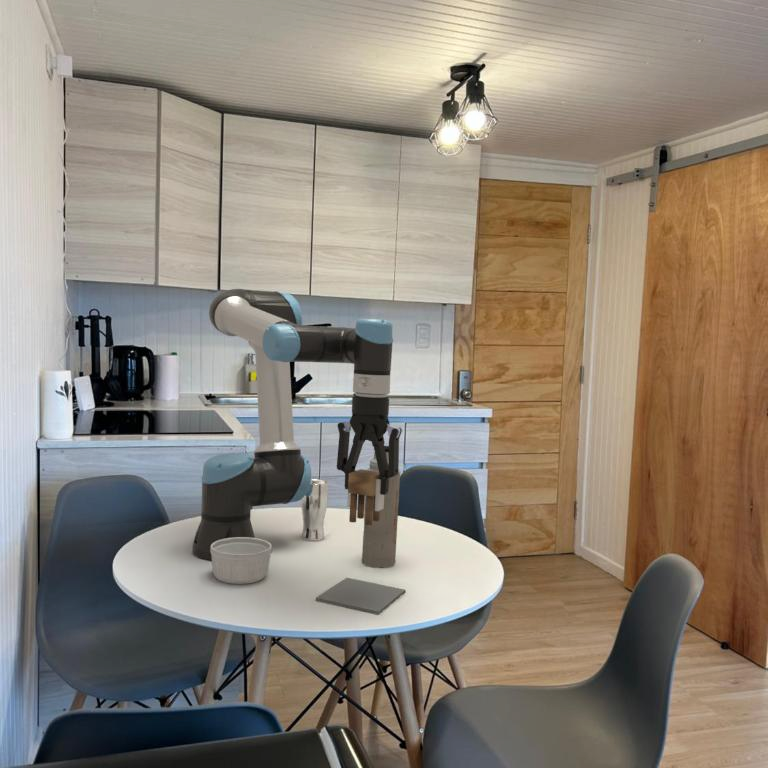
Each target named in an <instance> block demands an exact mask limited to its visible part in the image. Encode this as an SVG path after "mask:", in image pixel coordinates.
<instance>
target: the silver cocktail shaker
mask: <svg viewBox="0 0 768 768" xmlns="http://www.w3.org/2000/svg"><path fill="white" fill-rule="evenodd" d="M328 483H329V482H328V480H325V479H317V478H311V482H310V486H309V489H308V491H307V493H306V495H305V496H304V497H303V498H302V499H301V500H300V502H301V503H300V505H301V511H302V512H301V513H302V520H303V525H302V530H301V531H302V532H301V536H300V537H301V539H302V538H303V540H304V539H305V540H304V541H307V540H311V541H310V542H319V540H320V541H322V540H324V539H325V531H324V523H325V519H326V514H327V513H326V512H327V509H328V503H329V502H328V501H329V485H328Z"/></svg>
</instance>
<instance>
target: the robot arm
mask: <svg viewBox="0 0 768 768" xmlns="http://www.w3.org/2000/svg"><path fill="white" fill-rule="evenodd" d="M208 315H209V321H210V323H211V325H212V326H213V327H214V329H215V330H216V331H218V332H220V333H221V334H223V335H226V336H228V337H240V338H241V339H243V340H245V341H248V346H250V347H251V348H252V349H253V350H254V352H255V353H254V354H255V372H256V373H255V375H256V391H257V393H256V394H257V411H258V413H257V414H258V415H257V416H258V417H257V418H258V433H259V445H258V447H256V449H255V450H253V451H254V452H253V455H254V457H253V455H252V454H250V453H246V452H228V453H221V454H218V455H214V456H212V457H209V459H207V460H205V463H204V464H203V468H202V469H203V470H202V477H201V483H202V484H201V511H200V512H201V514H200V517H201V518H200V522H199V525H198V528H197V529H196V532H195V536H194V538H193V540H192V554H193V555H194V556H195V557H197V558H200V559H204V560H208V561H212V555H211V552H210V548H211V545H212V543H214V542H216V541H218V540H221V539H226V538H234V537H249V538H256V536H255V531H254V529H253V526H252V521H251V512H252V510H251V509H252V507H263V506H272V505H281V504H283V505H285V504H286V505H287V504H289V503H294V502H295V503H296V502H299V501H301V499H302V498H303V497H304V496H305V495H306V493H307V491H308V489H309V486H310V482H311V479H312V468H311V464H310V463H309V462H310V461H309V459H308V457H306V456H304V455H302V453H301V447H300V446H298V445H297V444H296V442H295V436H294V434H295V433H294V417H293V401H292V396H293V395H292V385H291V384H292V380H291V366H290V365H291V363H292V362H293V363H295V362H297V363H298V362H299V363H301V362H302V363H327V364H328V363H329V364H333V363H335V364H337V363H338V364H353V379H352V381H353V383H352V384H353V385H352V392H353V393H355V394H354V395H353V396H352V400H351V413H352V414H351V417H350V419H349V421H342V422H338V423H337V429H338V430H337V431H338V434H339V435H338V445H337V446H338V447H337V459H336V469H337V470H338V471H341V472H343V473H344V489H345V490H348V480H349V473H351V472H354V471H357V470H356V468H357V464H358V461H359V458H360V455H361V451H362V449H363V446H364V443H365V442H366V441H369V442H371V444H372V447H373V451H374V452H375V455H376V460H377V465H378V470H379V474H380V477H379V478H378V479H376V495H375V511H380V510H382V509H384V495H386V494H387V493H388V490H389V489H388V488H389V478H390V477H394V476H396V475H398V473H399V471H400V469H399V467H400V465H399V463H400V462H399V461H400V459H399V455H400V437H401V435H402V432H403V430H402V428H401V427H396V426H395V425H391V424H390V421H389V414H390V413H389V412H390V411H389V410H390V409H389V408H390V398H389V397H388V395H390V393H391V392H390V391H391V370H392V355H393V354H392V353H393V343H394V337H393V323H392V321H390V320H387V319H380V318H379V319H377V318H376V319H375V318H359V319H358V320H357V321H356V322H355V323H356V324H355V327H345V326H343V327H341V326H321V325H320V326H318V325H305V324H303V314H302V309H301V306H300V304H299V302H298V300H297V299H296V298H295V296H293V295H292V294H289V293H285V292H279V291H276V290H275V291H269V290H254V289H245V288H232V289H228V290H225V291H222V292H221V293H219V294H218V295H216V297H214V299H213V300H212V301H211V304H210V306H209V309H208ZM290 362H291V363H290ZM351 430H352V431H353V432H354V436H353V439H352V445H351V449H350V452H349V448H350V435H351V434H350V432H351ZM386 432H387V434H388V435H387V436H388V446H389V461H387V457H386V452H385V447H384V446H385V438H384V435H385V434H386ZM350 497H351V493H348V492H347V505H346V507H348V508H350Z"/></svg>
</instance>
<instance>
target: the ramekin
mask: <svg viewBox="0 0 768 768" xmlns="http://www.w3.org/2000/svg"><path fill="white" fill-rule="evenodd" d="M210 552H211V555H212V560H211V564H212V565H211V567H212V572H213V575H214V577H215V578H216V580H218V581H219V582H222V583H225V584H232V585H247V584H253V583H257V582H259V581H261V580H263V579H264V578H265V577H266V575H267V574H268V571H269V567H270V566H269V565H270V559H271V554H272V552H273V545H272V544H271V542H269V541H268V540H265V539H262V538H256V537H255V538H249V537H234V538H226V539H221V540H218V541H216V542H214V543H212V545H211V548H210Z"/></svg>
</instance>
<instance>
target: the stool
mask: <svg viewBox="0 0 768 768" xmlns="http://www.w3.org/2000/svg"><path fill="white" fill-rule="evenodd" d="M379 477H380V474H379V472H377V471H370V470H367V469H357V470H356V471H354V472H351V473H349V480H348V489H347V494H348V493H351V497H350V507H349V517H348V518H349V523H356V522H357V519H360V520H361V519H363V520H364V511H365V495H366V496H367V498H366V518H365V524H366V525H372V516H373V521H379V520H380V511H375V495H376V479H378V478H379ZM373 497H374V504H373Z"/></svg>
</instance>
